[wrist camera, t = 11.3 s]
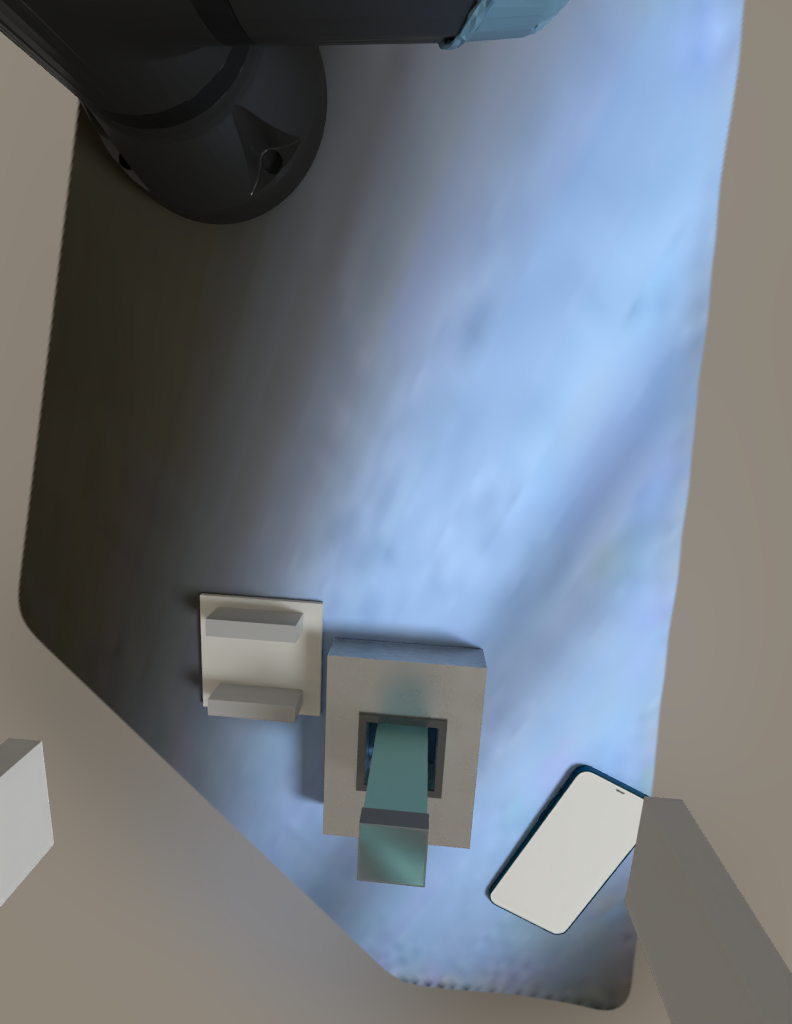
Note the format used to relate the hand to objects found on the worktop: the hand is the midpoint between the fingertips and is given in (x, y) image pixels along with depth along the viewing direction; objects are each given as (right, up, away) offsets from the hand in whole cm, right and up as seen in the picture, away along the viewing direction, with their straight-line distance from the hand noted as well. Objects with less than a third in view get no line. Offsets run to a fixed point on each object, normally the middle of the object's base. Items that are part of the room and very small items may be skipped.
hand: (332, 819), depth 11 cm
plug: (+2, -12, +31) cm, 34 cm away
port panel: (+2, -12, +31) cm, 34 cm away
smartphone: (+16, -23, +33) cm, 43 cm away
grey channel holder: (-10, -5, +31) cm, 33 cm away
